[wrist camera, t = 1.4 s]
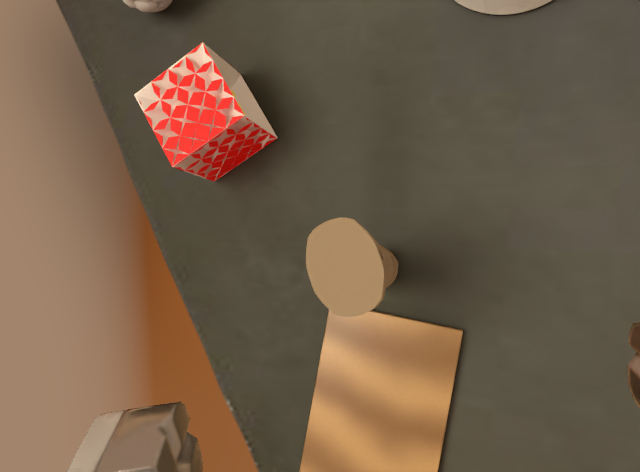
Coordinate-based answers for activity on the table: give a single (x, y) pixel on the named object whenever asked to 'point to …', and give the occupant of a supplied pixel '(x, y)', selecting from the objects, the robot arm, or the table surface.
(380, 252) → the handle
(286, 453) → the table surface
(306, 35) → the table surface
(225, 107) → the red and white cube
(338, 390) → the oak board
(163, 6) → the frog figurine
